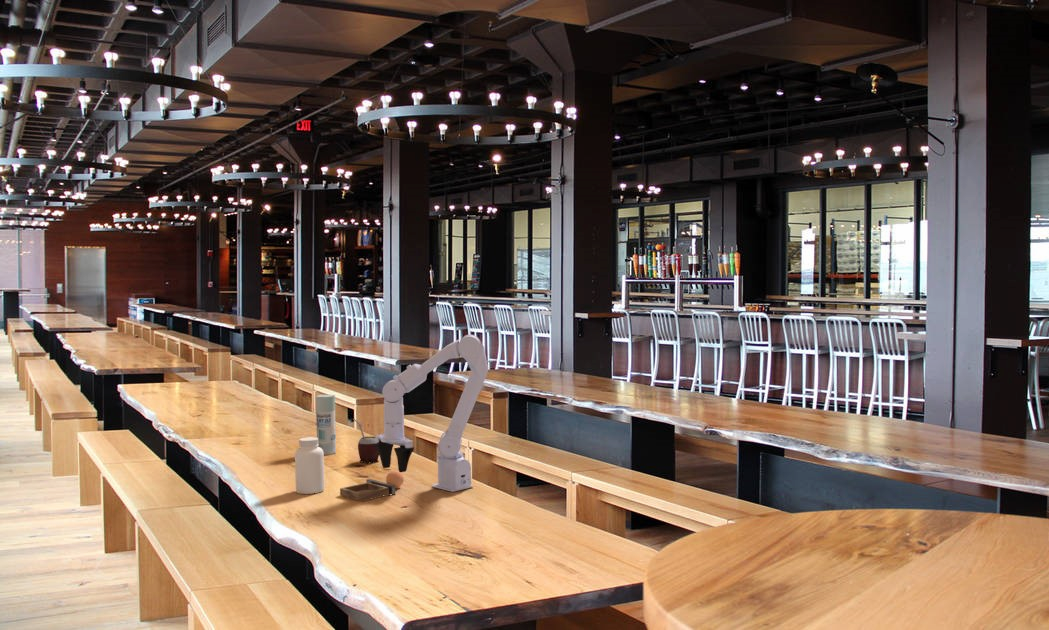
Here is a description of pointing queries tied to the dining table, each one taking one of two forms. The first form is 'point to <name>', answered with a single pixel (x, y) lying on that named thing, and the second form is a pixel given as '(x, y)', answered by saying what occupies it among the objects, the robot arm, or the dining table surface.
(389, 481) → the ball
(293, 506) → the dining table surface
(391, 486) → the rail
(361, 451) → the mate gourd
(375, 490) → the tray
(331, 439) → the spray paint can
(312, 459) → the pill bottle
